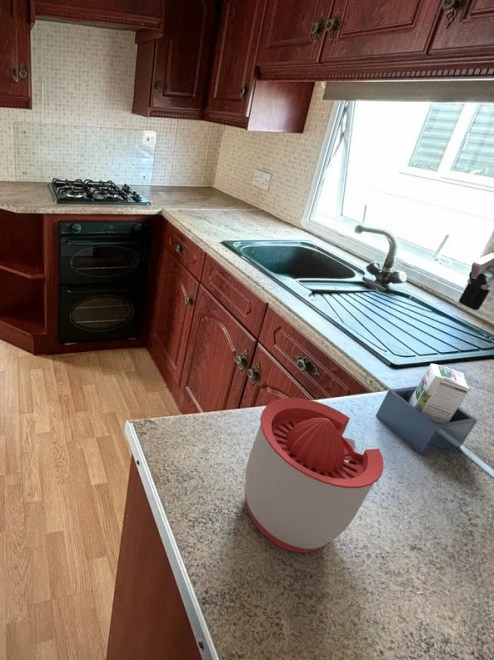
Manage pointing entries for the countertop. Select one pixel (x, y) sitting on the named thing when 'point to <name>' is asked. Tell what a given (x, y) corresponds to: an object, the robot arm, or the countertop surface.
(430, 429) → the box
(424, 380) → the syrup box
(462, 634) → the countertop surface
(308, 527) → the citrus juicer
